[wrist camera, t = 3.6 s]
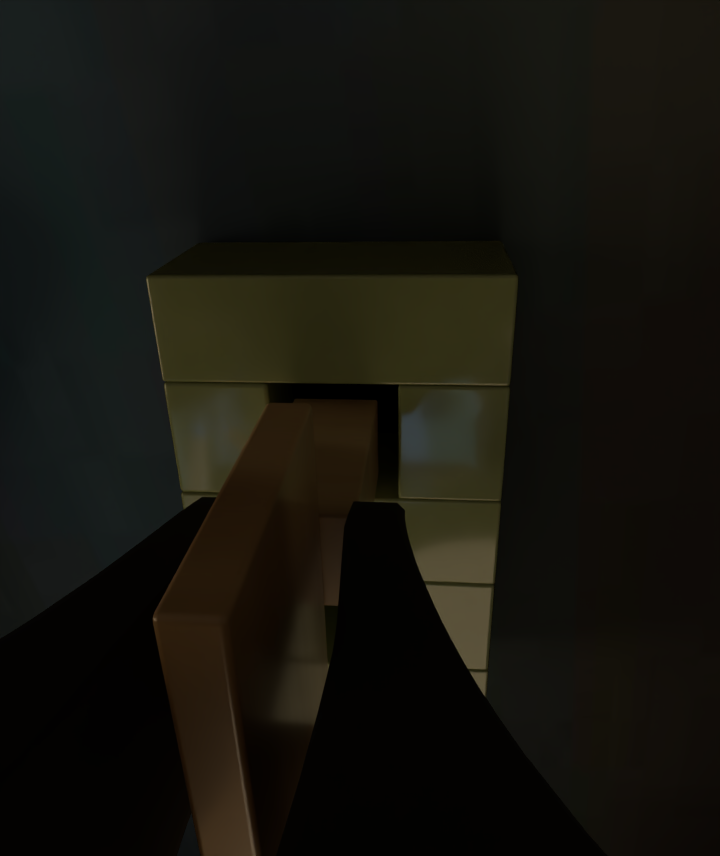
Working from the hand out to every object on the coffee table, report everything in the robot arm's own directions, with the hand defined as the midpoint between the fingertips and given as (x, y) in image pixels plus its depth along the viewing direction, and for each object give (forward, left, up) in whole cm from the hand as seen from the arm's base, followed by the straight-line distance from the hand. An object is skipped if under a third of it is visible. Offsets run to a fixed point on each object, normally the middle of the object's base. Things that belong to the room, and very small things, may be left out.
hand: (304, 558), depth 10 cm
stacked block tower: (-2, 0, -6) cm, 7 cm away
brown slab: (0, 0, -4) cm, 4 cm away
